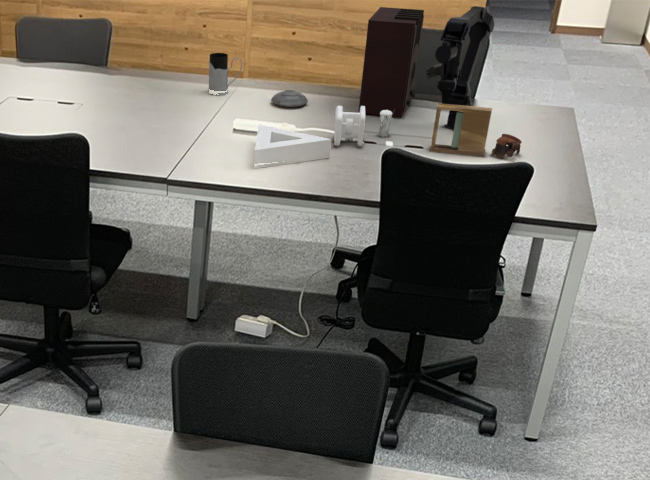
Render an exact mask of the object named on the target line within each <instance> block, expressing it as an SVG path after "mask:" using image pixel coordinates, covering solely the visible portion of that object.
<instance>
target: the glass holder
mask: <svg viewBox="0 0 650 480" xmlns="http://www.w3.org/2000/svg"><path fill="white" fill-rule="evenodd" d="M235 60H239V61H240V69H239V72H238V74H237V75H236V76H235V77H234V78H233V79H232V80H231V81H230V82H229V83H228V80H229V79H228V77H229V75H228V74H229V70H230V69H232V68H233V63H234V61H235ZM228 62H229V54H227V53H225V52H213V53H210V54H209V60H208V90H209V89H210V90H214V91H226V90H227V92H225V93H218V94H219V95H223V96H227V95H229V90H228V89H229V86H230V85H231V84H232V83H233V82H234V81H235V80H236V79H237V78H238V77H239V76H240V74H241V71H242V69H243V61H242V59H241V58H240V57H234V58H233V59H232V60H231V63H230V67H228V66H229V65H228ZM226 94H227V95H226ZM216 95H217V94H216Z"/></svg>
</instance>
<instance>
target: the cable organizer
mask: <svg viewBox="0 0 650 480" xmlns="http://www.w3.org/2000/svg"><path fill="white" fill-rule="evenodd" d="M334 116H335V117H334V129H333V130H334V132H333V136H334V137H333V139H334V141H333V144H334V146H336V147H338V146H340V145H341V141H344V143H345V142H346V140H352V142H357V146H358V147H359V148H360V147H362V146H363V142H364V136H365V135H364V134H365V126H366V115H365V106H361V107H360V113H358V112H351V111H344V106H343V105H337V106H336V107H335V115H334Z"/></svg>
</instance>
